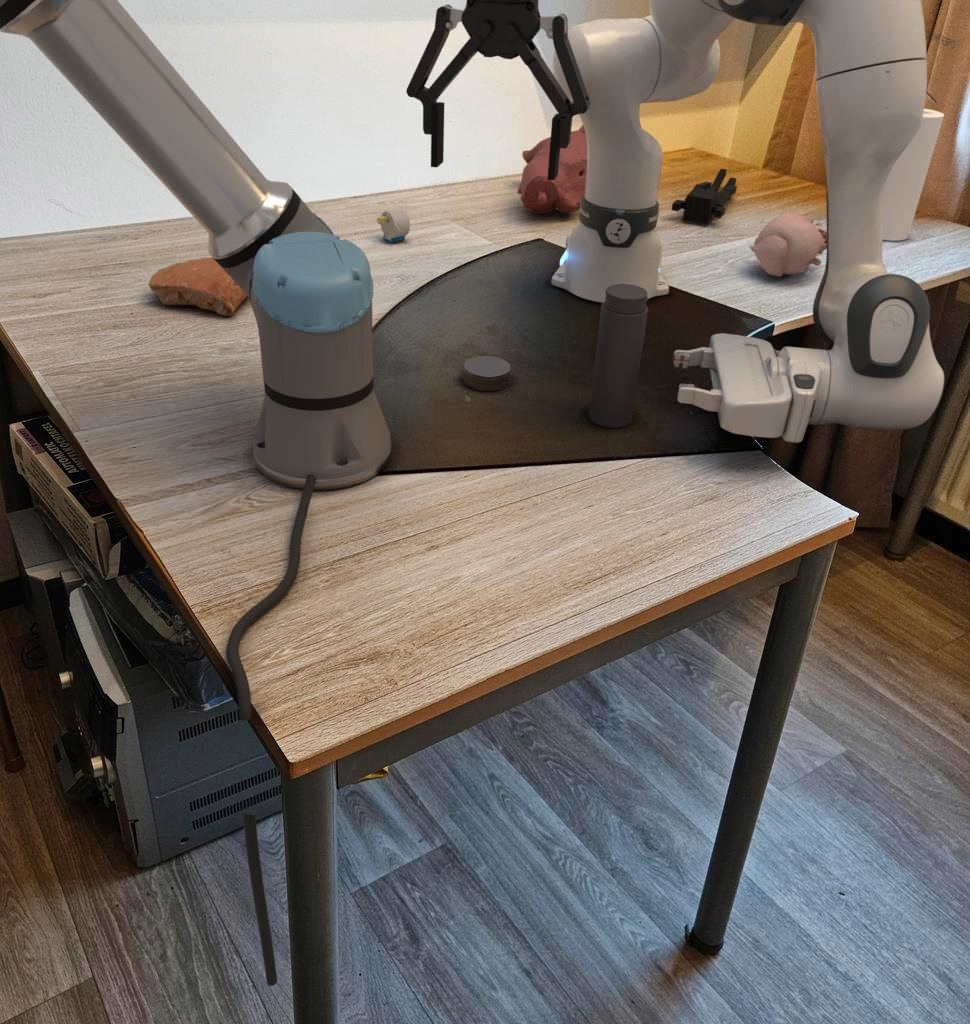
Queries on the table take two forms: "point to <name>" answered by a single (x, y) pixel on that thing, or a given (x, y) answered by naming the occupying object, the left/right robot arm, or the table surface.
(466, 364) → the lid
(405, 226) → the electric motor
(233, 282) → the ceramic shard
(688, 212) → the toy
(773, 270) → the toy
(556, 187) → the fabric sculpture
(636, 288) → the jar
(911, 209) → the tall white tube
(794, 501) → the table surface
